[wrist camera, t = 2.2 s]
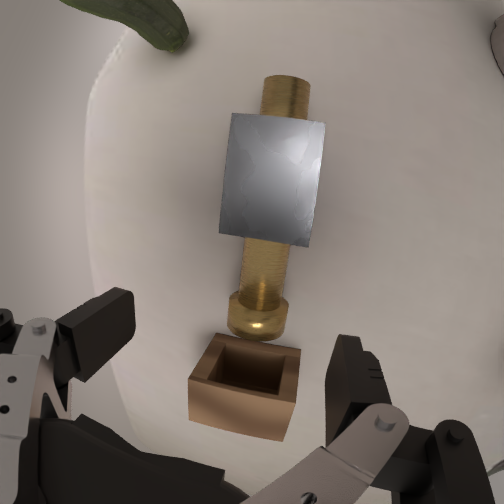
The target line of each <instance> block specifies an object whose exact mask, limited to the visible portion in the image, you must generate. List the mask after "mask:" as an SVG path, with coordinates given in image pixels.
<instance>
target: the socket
mask: <svg viewBox="0 0 504 504" xmlns="http://www.w3.org/2000/svg"><path fill="white" fill-rule="evenodd" d="M300 355H301V349H295V348H289V347H283V346H277V345H272V344H267V343H262V342H256V341H251V340H247V339H242V338H237V337H233V336H228V335H224V334H219V333H216V334H215V336H214V338H213V339H212V341H211V342H210V344H209V346H208V347H207V349H206V351H205V352H204V354H203V355H202V357H201V359H200V360H199V362H198V363H197V365H196V367H195V368H194V370H193V372H192V373H191V375H190V376H189V378H188V409H189V420H191V421H194V422H197V423H201V424H204V425H208V426H211V427H215V428H219V429H223V430H227V431H231V432H235V433H239V434H244V435H248V436H253V437H258V438H263V439H269V440H275V441H281V442H283V439H284V437H285V434H286V431H287V428H288V425H289V422H290V419H291V416H292V413H293V410H294V407H295V404H296V396H297V387H298V377H299V366H300Z"/></svg>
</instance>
